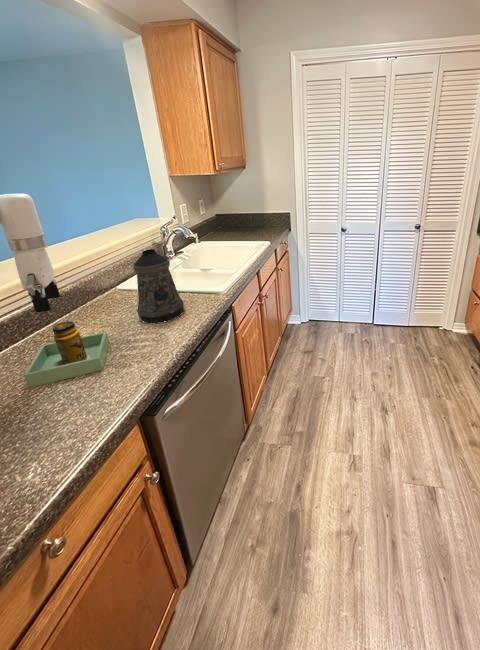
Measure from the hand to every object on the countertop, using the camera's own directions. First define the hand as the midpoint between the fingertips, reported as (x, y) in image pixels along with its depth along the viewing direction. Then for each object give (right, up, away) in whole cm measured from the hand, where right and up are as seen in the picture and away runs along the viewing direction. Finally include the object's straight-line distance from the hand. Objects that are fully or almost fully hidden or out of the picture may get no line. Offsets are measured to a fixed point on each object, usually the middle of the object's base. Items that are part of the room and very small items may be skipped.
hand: (49, 304), depth 89 cm
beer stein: (+15, -6, +37) cm, 40 cm away
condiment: (+1, -18, +7) cm, 19 cm away
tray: (+1, -18, +8) cm, 20 cm away
